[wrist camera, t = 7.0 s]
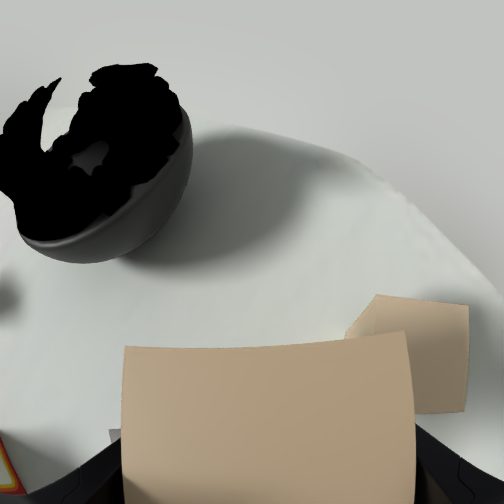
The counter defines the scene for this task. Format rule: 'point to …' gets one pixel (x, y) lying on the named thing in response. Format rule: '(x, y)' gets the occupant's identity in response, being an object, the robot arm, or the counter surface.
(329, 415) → the box lid
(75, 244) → the coal bowl
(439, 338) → the box
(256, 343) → the counter surface
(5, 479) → the baking soda box
